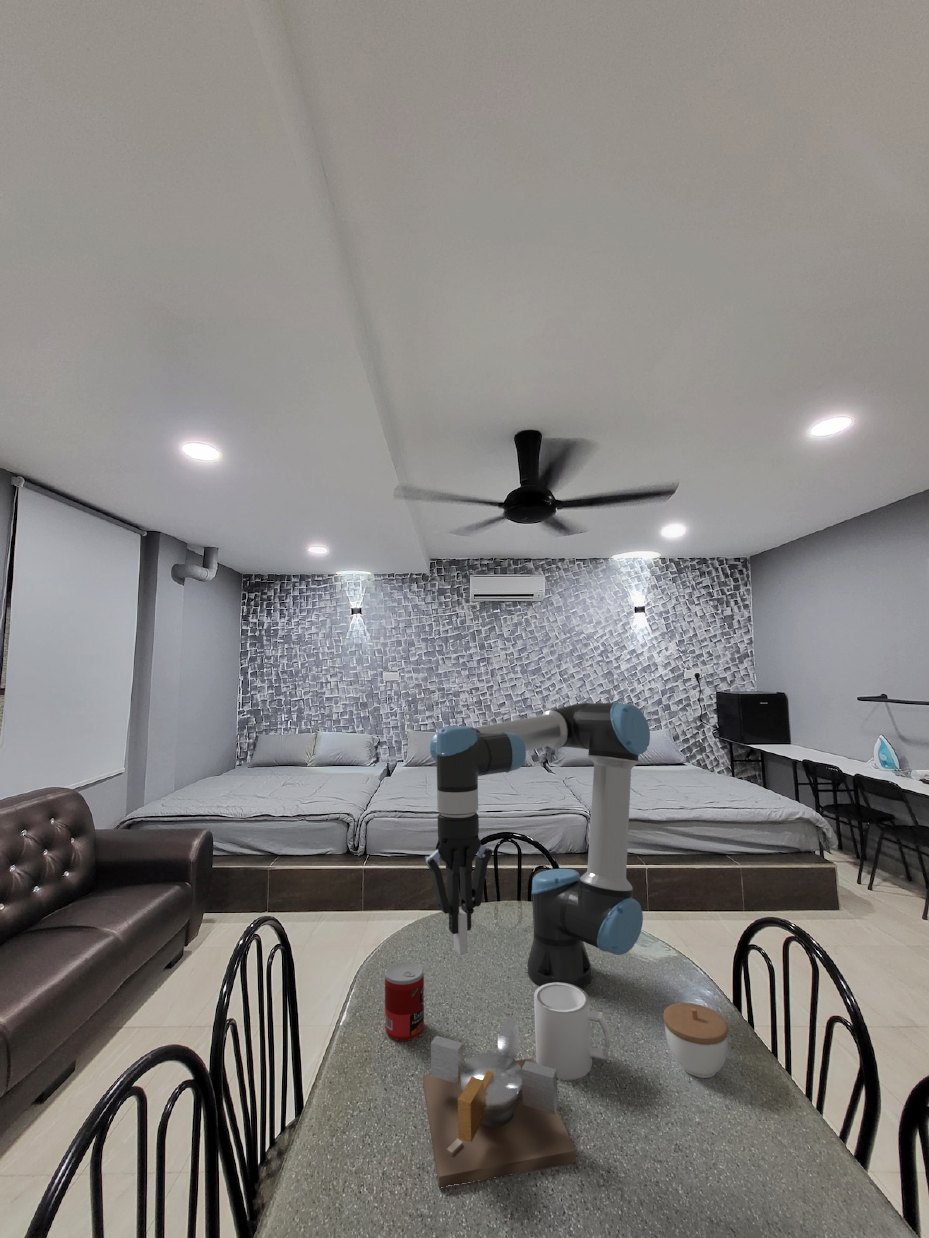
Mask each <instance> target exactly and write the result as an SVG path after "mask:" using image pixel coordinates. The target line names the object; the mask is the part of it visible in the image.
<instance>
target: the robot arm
mask: <svg viewBox="0 0 929 1238" xmlns="http://www.w3.org/2000/svg"><path fill="white" fill-rule="evenodd" d="M650 741H651V732H650V726H649V723H648V719H647V718H646V717H645V715H644V713H643V712H642V710H641V709H640V708H639V707H637V706H636V705H634V704H631V703H621V702H609V703H608V702H604V703H603V702H602V703H601V702H598V703H596V702H595V703H594V702H591V703H590V702H583V703H576V704H572V705H567V706H563V707H559V708H554V709H550V710H546V711H544V712H543V713H542V714H541V715H538V716H533V717H526V718H522V719H516V720H515V719H514V720H509V721H503V722H499V723H493V724H487V725H482V726H475V727H473V726H470V725H469V726H468V725H466V726H465V725H462V726H459V725H458V726H457V725H456V726H444V727H441V728H439V729H438V731H437V732H436V734H434V735H433V737H432V738H431V741H430V744H429V748H430V749H429V750H430V751H429V752H430V756H431V758H432V759H433V761H435V762H436V780H437V781H436V786H437V787H436V788H437V789H436V792H437V793H436V798H437V799H436V800H437V808H436V809H437V811H438V813H439V814H438V815H437V843H436V845H435V851H433V852H432V853H431V854H430V855H425V857H424V858H423V861H424V863H425V864H426V866H427V867H428V869H429V874H430V878H431V880H432V881H431V882H432V886H433V891H434V894H435V899H436V901H437V902H436V903H437V907H438V908H439V910H440V911H442V912H443V913H444V914H448V929H449V932H450V933H451V934H452V935H453V949H454V951H455V952H456V953H458V955H459V956H462V955H466V954H468V953H469V951H468V950H469V949H468V947H469V945H468V942H469V941H468V931H471V930H472V915H473V913H475V907H476V908H477V907H480V906H481V905H482V899H483V894H484V889H485V883H486V876H487V871H488V865H489V864H488V863H489V862H490V859H491V857H492V856H493V850H492V849H491V848H489V847H488V846H485V845H483V844H482V842H481V840H480V837H479V833H480V824H479V823H480V822H479V821H480V820H479V817H480V816H479V814H478V813H477V811H479V784H478V783H479V777H482V776H487V775H489V776H490V775H495V774H501V773H510V772H512V771H515V770H519V769H521V767H523V765H524V764H525V762H526V758H527V752H528V751H531V750H536V749H541V748H546V747H549V748H551V749H560V748H574V749H580V750H581V749H583V750H588V754H587V757H588V758H589V759H590V761H591V762H592V763H593V777H592V792H591V793H592V795H591V806H590V807H591V809H590V825H589V838H588V839H589V840H588V841H589V842H588V852H587V853H588V855H587V871H586V872H584V873H583V874H582V875H581V876H580V873H579V872H578V871H577V870H575V869H570V868H553V869H546V870H543V871H540V872H538V873H536V874H535V875H534V877H532V885H531V887H532V888H531V889H532V890H531V902H532V904H531V905H532V922H533V940H532V944H531V948H530V952H529V954H528V958H527V974H528V977H529V978H530V980H531V981H532V982H533V983H534V984H536V985H538V986H539V987H540V986H542V985H545V984H548V983H555V982H560V983H568V984H572V985H575V986H577V987H579V988H581V989H582V988H584V987H586V986H587V985H588V984H590V982H591V981H592V978H593V977H592V976H593V974H592V963H591V960H590V958H589V955H588V952H587V949H586V946H585V944H588V945H590V946H593V947H595V948H597V949H598V950H600V951H601V952H607V953H610V954H613V955H617V956H622V955H625V954H627V953H628V952H630V951H631V950H632V949H633V948H634V946H635V944H636V943H637V941H638V940H639V937H640V935H641V933H642V928H643V921H644V915H643V914H644V913H643V909H642V906H641V904H640V903H639V902H638V901H637V900H636V899H635V898H633V891H634V889H633V886H632V884H631V883H630V882H629V880H628V879H627V863H628V861H627V860H628V843H629V841H628V840H629V822H630V821H629V820H630V804H631V803H630V802H631V784H632V783H631V780H632V779H631V777H632V769H633V768H634V767H635V766H637V764H639V756H641V755H642V754H644V753H645V752H646V751H648V747H649V745H650ZM475 858H476V859H475ZM440 859H441V860H442V861H443V862H444V864H445V870H446V887H445V882H444V878H443V875H442V870H441V868H440V865H441V861H440ZM474 860H475V863H474V869H473V861H474ZM472 872H473V874H472ZM472 875H473V876H472ZM446 890H447V891H446ZM460 907H461V908H460ZM584 943H585V944H584Z"/></svg>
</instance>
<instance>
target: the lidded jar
mask: <svg viewBox="0 0 929 1238" xmlns="http://www.w3.org/2000/svg"><path fill="white" fill-rule="evenodd" d="M663 1023H664V1034H665V1038H666V1042H667V1046H668V1048H669V1050H670V1053H671V1055H672V1056H673V1059H675V1060H676V1062H677V1063H678V1064H679V1065H680V1067H681V1068H682V1069H683V1071H685V1072H686V1073H687V1074H689V1075H691V1076H693V1077H696V1078H699V1079H701V1078H702V1079H710V1078H712V1077H714V1076H715V1075H716V1074H717V1073H718V1072H719V1071H720V1070H721V1069H722V1068H723V1066H724V1064H725V1062H726V1060H727V1055H728V1048H729V1047H728V1046H729V1045H728V1043H729V1042H728V1041H729V1040H728V1034H729V1033H728V1031H729V1030H728V1025H727V1022H726V1021H725V1019H724V1018H723V1017H722V1016H721V1015H720V1014H719V1013H718V1012H717V1011H715V1010H713V1009H711V1008H709V1007H706V1006H704V1005H702V1004H698V1003H694V1002H693V1003H692V1002H675V1003H673V1004H670V1005H668V1006H667V1007H666V1008H664V1011H663Z"/></svg>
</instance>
